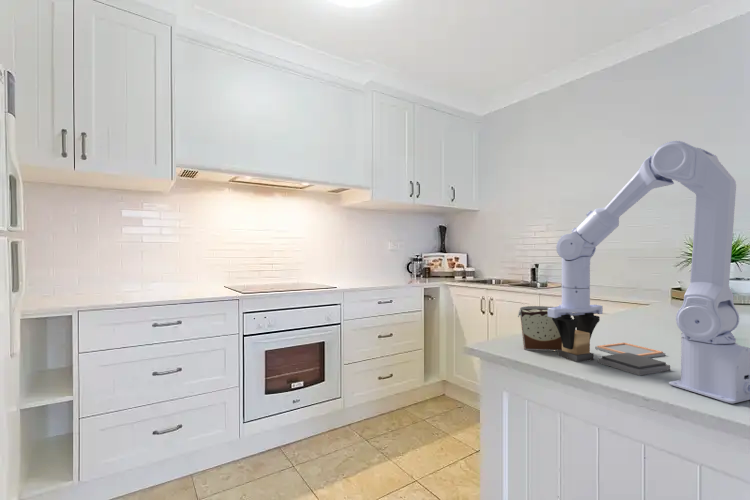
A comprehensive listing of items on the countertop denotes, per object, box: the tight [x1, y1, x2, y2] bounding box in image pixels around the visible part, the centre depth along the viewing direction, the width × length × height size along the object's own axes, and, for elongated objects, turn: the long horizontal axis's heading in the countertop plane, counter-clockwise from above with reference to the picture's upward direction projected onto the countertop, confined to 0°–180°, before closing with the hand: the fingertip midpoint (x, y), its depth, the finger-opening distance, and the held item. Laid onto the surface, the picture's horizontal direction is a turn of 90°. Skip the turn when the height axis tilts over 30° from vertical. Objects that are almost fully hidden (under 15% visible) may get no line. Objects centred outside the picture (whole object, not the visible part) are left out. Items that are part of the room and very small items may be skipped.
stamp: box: [557, 329, 594, 363], centre depth 87 cm, size 5×5×6 cm
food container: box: [517, 305, 562, 352], centre depth 96 cm, size 12×6×10 cm, turn 82°
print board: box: [594, 342, 666, 359], centre depth 91 cm, size 10×10×1 cm
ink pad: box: [597, 353, 671, 376], centre depth 80 cm, size 9×9×2 cm
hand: (575, 347), depth 87 cm, fingers open, 4 cm apart
